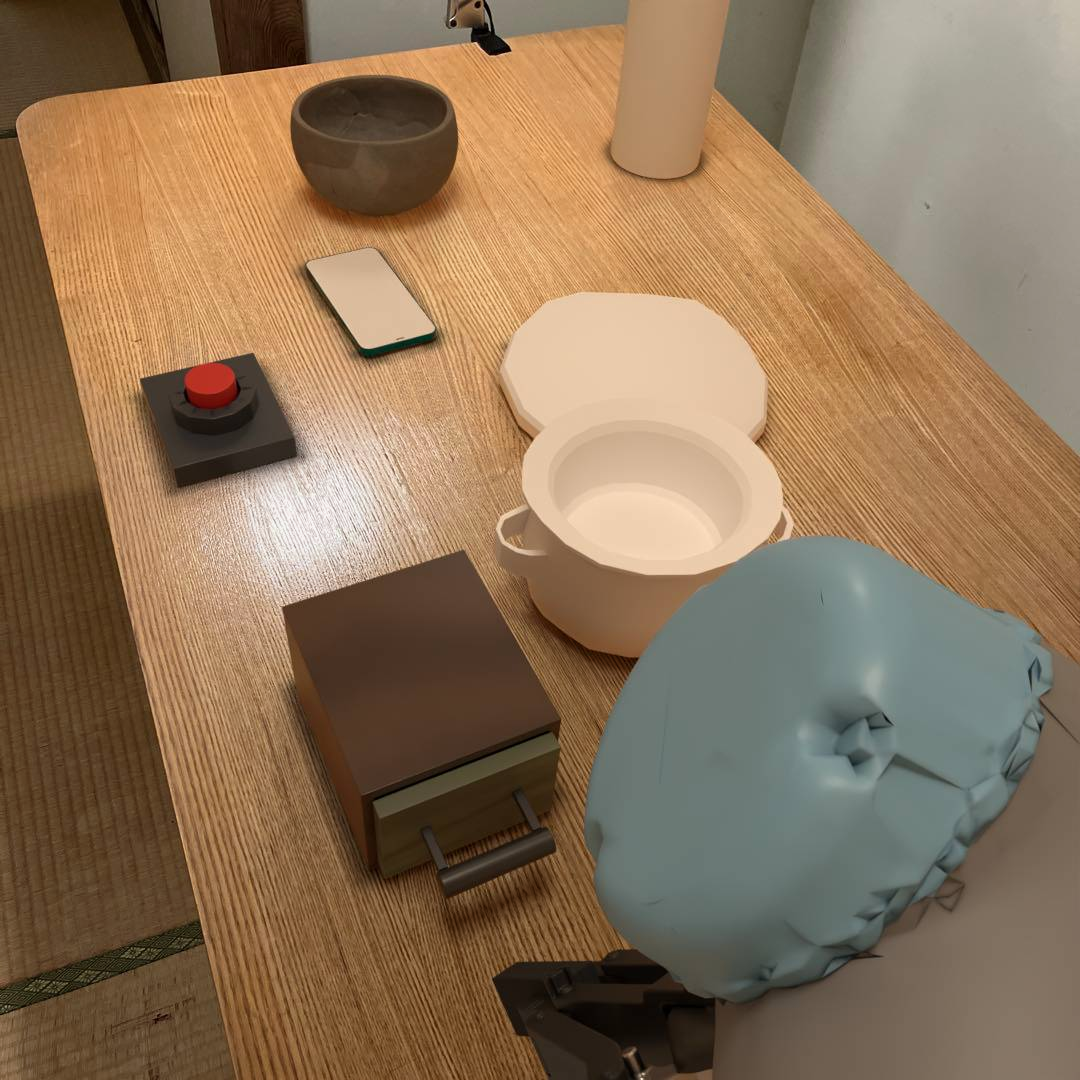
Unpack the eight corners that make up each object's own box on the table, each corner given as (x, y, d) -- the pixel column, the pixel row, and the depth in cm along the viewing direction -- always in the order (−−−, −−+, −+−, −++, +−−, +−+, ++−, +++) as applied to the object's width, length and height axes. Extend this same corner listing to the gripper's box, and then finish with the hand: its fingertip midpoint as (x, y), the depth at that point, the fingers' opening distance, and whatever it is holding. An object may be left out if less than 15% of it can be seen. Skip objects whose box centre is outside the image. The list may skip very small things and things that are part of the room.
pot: (737, 503, 91) (771, 392, 82) (798, 672, 79) (845, 564, 70) (478, 518, 88) (483, 403, 79) (503, 695, 76) (512, 586, 67)
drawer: (582, 869, 67) (596, 808, 61) (411, 944, 63) (408, 888, 57) (467, 654, 77) (469, 585, 72) (314, 707, 73) (303, 639, 68)
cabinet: (549, 797, 71) (561, 718, 64) (368, 872, 67) (360, 796, 60) (461, 634, 80) (464, 549, 72) (296, 691, 75) (281, 606, 68)
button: (195, 414, 88) (191, 398, 87) (182, 385, 90) (179, 369, 89) (243, 403, 90) (240, 386, 88) (230, 374, 92) (227, 358, 91)
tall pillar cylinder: (716, 157, 130) (762, -67, 112) (664, 189, 124) (704, -43, 106) (645, 125, 134) (679, -97, 116) (592, 154, 129) (618, -74, 110)
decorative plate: (501, 268, 104) (753, 280, 106) (499, 303, 107) (744, 315, 109) (499, 444, 88) (798, 456, 89) (497, 481, 91) (786, 491, 92)
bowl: (334, 141, 126) (327, 56, 119) (478, 172, 124) (480, 86, 117) (270, 215, 115) (258, 126, 108) (427, 250, 113) (427, 161, 105)
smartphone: (302, 269, 109) (362, 359, 100) (301, 261, 108) (362, 351, 99) (375, 253, 112) (440, 339, 103) (375, 245, 111) (440, 331, 102)
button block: (177, 488, 87) (168, 452, 85) (144, 397, 94) (134, 361, 91) (297, 456, 91) (292, 420, 88) (256, 371, 98) (250, 335, 95)
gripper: (841, 1318, 25) (432, 1168, 45) (1096, 1016, 33) (653, 999, 52) (703, 1018, 26) (359, 997, 45) (983, 790, 34) (587, 854, 53)
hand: (517, 998), depth 49 cm, fingers closed
